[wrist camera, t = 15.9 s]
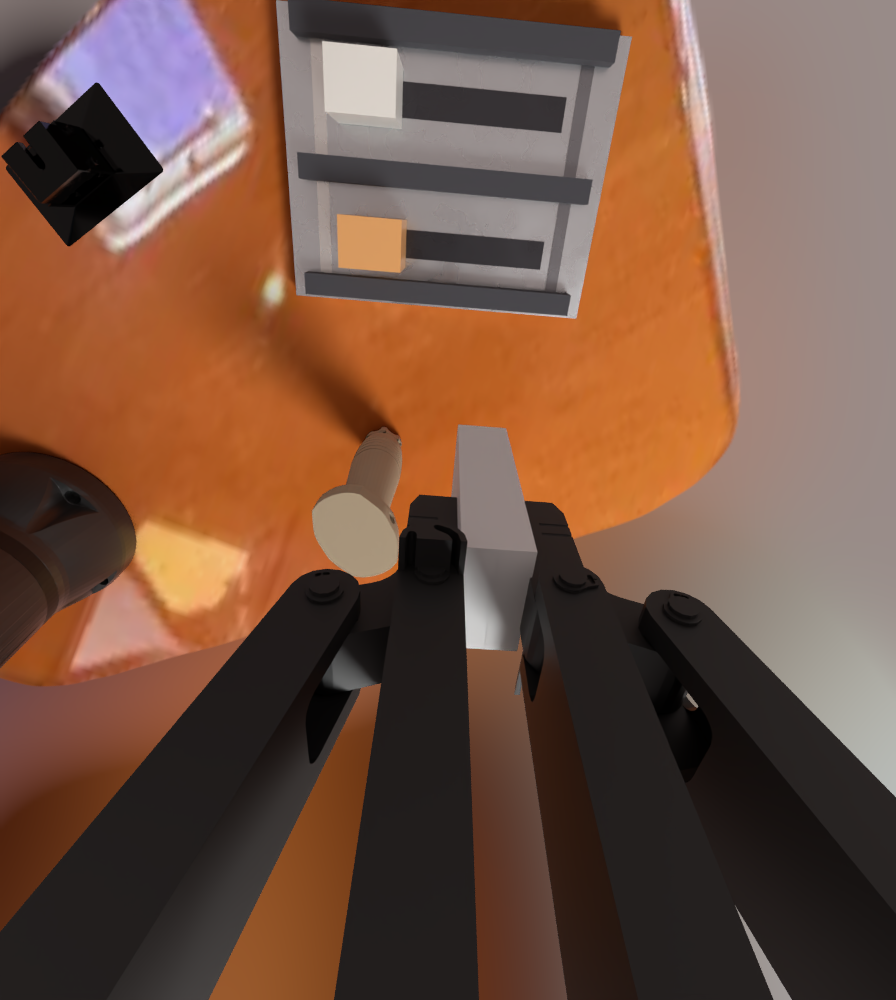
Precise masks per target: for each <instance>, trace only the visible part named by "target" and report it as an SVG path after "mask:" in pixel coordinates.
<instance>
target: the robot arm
mask: <svg viewBox="0 0 896 1000" xmlns="http://www.w3.org/2000/svg"><path fill="white" fill-rule="evenodd" d="M135 549H136V535H135V530H134V526H133V523H132V521H131V519H130V517H129V515H128V513H127V511H126V509H125V508H124V506H123V505H122V503H121V502H120V501H119V499H118V498H117V497H116V496H115V495H114V494H113V493H112V492H111V491H110V490H109V489H108V488H107V487H106V486H105V485H104V484H103V483H101V482H100V481H99V480H98V479H96V478H95V477H94V476H92V475H91V474H89V473H88V472H86V471H84V470H83V469H81V468H79V467H77V466H75V465H73V464H71V463H69V462H66V461H64V460H61V459H58V458H56V457H52V456H49V455H44V454H39V453H31V452H14V453H7V454H3V455H0V668H1V667H2V666H3V665H4V664H5V663H6V662H7V661H8V660H9V659H10V658H11V657H12V656H13V655H14V654H15V653H16V652H17V651H18V650H19V649H20V648H21V647H22V646H23V645H24V644H25V643H26V642H27V641H28V640H29V639H30V638H31V637H32V636H33V635H34V634H35V633H36V632H37V631H38V630H39V629H40V627H41V626H42V625H43V624H44V623H45V622H46V621H47V620H48V619H49V618H51V617H52V616H53V615H54V614H55V613H56V612H58V611H60V610H62V609H64V608H66V607H68V606H70V605H72V604H74V603H76V602H78V601H80V600H82V599H84V598H86V597H88V596H90V595H91V594H93V593H96V592H98V591H100V590H102V589H104V588H105V587H107V586H108V585H109V584H111V583H112V582H113V581H114V580H115V579H116V578H117V577H118V576H119V575H120V574H121V573H122V572H123V571H124V570H125V569H126V568H127V566H128V565H129V564H130V562H131V561H132V559H133V556H134V553H135ZM520 634H521V640H522V647H523V653H522V658H521V662H520V667H519V672H518V676H517V681H516V686H515V695H520V691H521V686H522V690H523V697H524V703H525V710H526V717H527V723H528V731H529V738H530V745H531V752H532V758H533V765H534V772H535V779H536V786H537V793H538V799H539V807H540V814H541V820H542V827H543V834H544V841H545V848H546V855H547V861H548V868H549V876H550V882H551V889H552V896H553V902H554V910H555V916H556V924H557V931H558V937H559V944H560V951H561V958H562V965H563V972H564V979H565V985H566V993H567V999H568V1000H773V998H772V995H771V993H770V990H769V988H768V985H767V983H766V980H765V978H764V976H763V973H762V971H761V968H760V966H759V963H758V961H757V958H756V956H755V953H754V951H753V949H752V946H751V944H750V941H749V939H748V936H747V934H746V931H745V929H744V926H743V924H742V922H741V919H740V917H739V914H738V912H737V910H736V907H737V909H738V911H739V912H740V914H741V916H742V917H743V919H744V921H745V922H746V924H747V926H748V927H749V929H750V930H751V932H752V934H753V936H754V937H755V939H756V941H757V942H758V944H759V946H760V947H761V949H762V950H763V952H764V954H765V955H766V957H767V959H768V961H769V962H770V964H771V966H772V967H773V969H774V971H775V972H776V974H777V976H778V977H779V979H780V981H781V982H782V984H783V986H784V987H785V989H786V990H787V992H788V994H789V995H790V997H791V999H792V1000H896V797H895V796H894V795H893V794H892V793H891V792H890V791H889V790H888V789H887V788H886V787H885V786H884V785H883V784H882V783H881V782H880V781H879V780H878V779H877V778H876V777H875V776H874V775H873V774H872V773H871V772H870V771H869V770H868V769H867V768H866V767H865V766H864V765H863V764H862V763H861V762H860V761H859V759H858V758H856V756H855V755H854V754H853V753H852V752H851V751H850V750H849V749H848V748H847V747H846V746H845V745H843V743H842V742H841V741H840V740H839V739H838V738H837V737H836V736H835V735H834V734H833V733H832V732H831V731H830V730H829V729H828V728H827V727H826V726H825V725H824V724H823V723H822V722H821V721H820V720H819V719H818V718H817V717H816V716H815V715H814V714H813V713H812V712H811V711H810V710H809V709H808V708H807V707H806V706H805V705H804V704H803V702H802V701H801V700H800V699H799V698H798V697H797V696H796V695H795V694H794V693H793V692H792V691H791V690H790V689H789V688H788V687H787V686H786V685H785V684H784V683H783V682H782V681H781V680H780V679H779V678H778V677H777V676H776V675H775V674H774V673H773V672H772V671H771V670H770V669H769V668H768V667H767V666H766V665H765V664H764V663H763V662H762V661H761V660H760V659H759V658H758V657H757V656H756V655H755V654H754V653H753V652H752V651H751V650H750V649H749V647H747V645H745V643H744V642H742V640H741V639H740V638H738V636H737V635H736V634H735V633H734V632H733V631H732V630H731V629H730V628H729V627H728V626H727V625H726V624H725V623H724V622H723V621H722V620H721V619H720V618H719V617H718V616H717V615H716V614H715V613H714V612H713V611H712V610H711V609H710V608H709V607H708V606H706V605H705V604H704V603H702V602H701V601H700V600H698V599H696V598H694V597H692V596H690V595H688V594H685V593H681V592H677V591H674V590H659V591H656V592H652V593H651V594H650V595H649V596H648V597H647V598H646V600H645V603H644V604H641V603H637V602H634V601H630V600H627V599H623V598H620V597H617V596H614V595H612V594H610V593H608V592H607V591H606V589H605V587H604V584H603V583H602V581H601V580H600V578H599V577H598V576H597V575H596V574H594V573H593V572H592V571H590V570H589V569H586V568H584V567H583V564H582V561H581V559H580V556H579V553H578V551H577V548H576V545H575V543H574V540H573V537H571V532H570V529H569V528H568V524H567V521H566V519H565V516H564V514H563V513H562V512H561V511H560V510H559V509H558V508H557V507H556V506H555V505H554V504H553V503H546V502H532V501H524V497H523V493H522V490H521V486H520V482H519V478H518V474H517V470H516V466H515V462H514V458H513V454H512V450H511V446H510V442H509V438H508V435H507V431H506V428H495V427H482V426H469V425H458V431H457V442H456V453H455V463H454V474H453V485H452V495H451V497H443V496H430V495H419V496H418V497H417V498H416V499H415V500H414V501H413V502H412V503H411V504H410V510H409V518H408V524H407V528H405V529H404V530H403V531H402V533H401V535H400V537H399V560H398V570H397V571H396V572H395V573H394V574H393V575H391V576H390V577H388V578H386V579H383V580H381V581H377V582H373V583H368V584H362V585H359V583H358V581H357V580H356V579H355V578H354V577H353V576H352V575H351V574H348V573H346V572H343V571H341V570H333V569H323V570H316V571H312V572H309V573H307V574H305V575H302V576H301V577H299V578H298V579H297V580H296V581H294V582H293V583H292V584H291V585H290V587H289V588H288V589H287V590H286V591H285V593H284V594H283V595H282V596H281V597H280V599H279V600H278V601H277V602H276V603H275V605H274V606H273V607H272V608H271V609H270V611H269V612H268V613H267V614H266V615H265V616H264V618H263V619H262V620H261V621H260V622H259V624H258V625H257V626H256V627H255V628H254V630H253V631H252V632H251V633H250V634H249V636H248V637H247V638H246V639H245V641H244V642H243V643H242V644H241V645H240V646H239V648H238V649H237V650H236V651H235V652H234V654H233V655H232V656H231V657H230V658H229V659H228V661H227V662H226V663H225V664H224V665H223V667H222V668H221V669H220V671H218V673H217V674H216V675H215V676H214V677H213V679H212V680H211V681H210V682H209V683H208V685H207V686H206V687H205V688H204V690H202V692H201V693H200V694H199V695H198V696H197V698H196V699H195V700H194V701H193V702H192V704H191V705H190V706H189V707H188V708H187V710H186V711H185V712H184V713H183V714H182V716H181V717H180V718H179V719H178V720H177V722H176V723H175V724H174V725H173V726H172V728H171V729H170V730H169V731H168V732H167V733H166V735H165V736H164V737H163V738H162V739H161V741H160V742H159V743H158V744H157V745H156V747H155V748H154V749H153V750H152V752H151V753H150V754H149V755H148V756H147V757H146V759H145V760H144V761H143V762H142V763H141V765H140V766H139V767H138V768H137V769H136V770H135V772H134V773H133V774H132V776H130V778H129V779H128V780H127V781H126V782H125V784H124V785H123V786H122V787H121V788H120V790H119V791H118V792H117V793H116V794H115V796H114V797H113V798H112V799H111V800H110V802H109V803H108V804H107V805H106V807H104V809H103V810H102V811H101V812H100V813H99V815H98V816H97V817H96V818H95V819H94V821H93V822H92V823H91V824H90V825H89V827H88V828H87V829H86V830H85V831H84V833H83V834H82V835H81V836H80V837H79V839H78V840H77V841H76V842H75V843H74V845H73V846H72V847H71V848H70V849H69V851H68V852H67V853H66V854H65V855H64V856H63V858H62V859H61V860H60V861H59V863H58V864H57V865H56V866H55V867H54V868H53V870H52V871H51V872H50V873H49V874H48V876H47V877H46V878H45V879H44V880H43V882H42V883H41V884H40V885H39V887H38V888H37V889H36V890H35V891H34V892H33V894H32V895H31V896H30V897H29V898H28V900H27V901H26V902H25V903H24V904H23V906H22V907H21V908H20V909H19V910H18V911H17V913H16V914H15V915H14V916H13V917H12V919H11V920H10V921H9V922H8V923H7V925H6V926H5V927H4V928H3V929H2V930H1V932H0V1000H208V999H209V997H210V995H211V993H212V991H213V989H214V987H215V985H216V983H217V981H218V979H219V977H220V975H221V973H222V971H223V969H224V967H225V965H226V963H227V961H228V959H229V957H230V955H231V953H232V951H233V949H234V947H235V945H236V943H237V941H238V939H239V937H240V934H241V933H242V931H243V929H244V926H245V924H246V922H247V920H248V918H249V916H250V914H251V912H252V910H253V908H254V906H255V904H256V902H257V900H258V898H259V896H260V894H261V892H262V890H263V888H264V886H265V884H266V882H267V880H268V877H269V876H270V874H271V872H272V870H273V868H274V866H275V864H276V862H277V860H278V858H279V856H280V853H281V851H282V849H283V847H284V845H285V843H286V841H287V839H288V837H289V835H290V833H291V831H292V829H293V827H294V825H295V823H296V821H297V819H298V817H299V815H300V813H301V811H302V809H303V807H304V805H305V803H306V801H307V799H308V797H309V795H310V792H311V791H312V789H313V787H314V785H315V783H316V781H317V778H318V776H319V774H320V772H321V770H322V768H323V766H324V764H325V762H326V760H327V758H328V756H329V754H330V752H331V750H332V748H333V746H334V744H335V742H336V740H337V738H338V736H339V734H340V732H341V730H342V728H343V726H344V724H345V722H346V719H347V718H348V716H349V714H350V712H351V710H352V708H353V706H354V704H355V702H356V699H357V697H358V695H359V693H360V689H361V688H362V687H367V686H371V685H375V684H380V683H381V689H380V696H379V702H378V709H377V716H376V722H375V729H374V736H373V742H372V749H371V756H370V763H369V769H368V776H367V783H366V789H365V796H364V803H363V810H362V817H361V823H360V830H359V836H358V843H357V850H356V857H355V863H354V870H353V876H352V883H351V890H350V897H349V903H348V910H347V917H346V923H345V930H344V937H343V943H342V950H341V957H340V963H339V971H338V977H337V984H336V990H335V997H334V1000H479V992H478V963H477V935H476V908H475V879H474V853H473V852H474V851H473V824H472V796H471V767H470V739H469V711H468V685H467V684H468V683H467V659H466V658H467V656H466V648H474V649H491V650H506V651H517V649H518V644H519V638H520ZM687 693H689V694H690V696H691V697H692V698H693V700H694V701H695V702H696V703H697V705H698V708H696V707H695V706H694V705H693V704H692V703H691V702H690V701H689V700H688V698H687V697H686V695H687ZM735 906H736V907H735Z"/></svg>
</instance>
